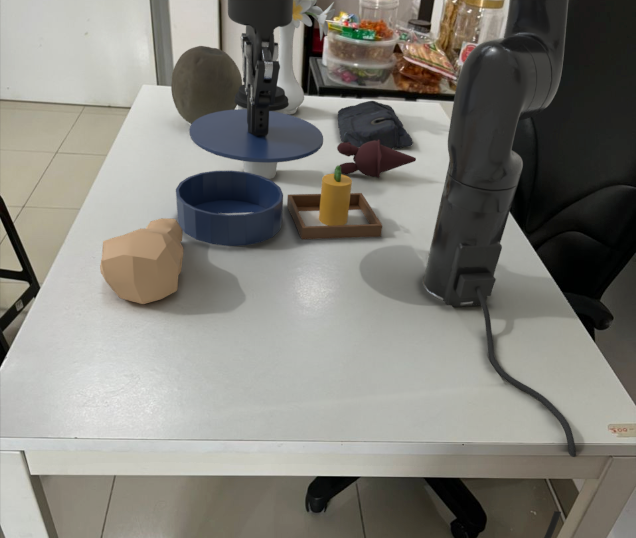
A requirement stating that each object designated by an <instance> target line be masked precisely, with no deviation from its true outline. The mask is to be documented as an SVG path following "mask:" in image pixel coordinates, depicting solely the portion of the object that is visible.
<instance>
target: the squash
mask: <svg viewBox="0 0 636 538" xmlns="http://www.w3.org/2000/svg"><path fill="white" fill-rule="evenodd" d="M183 233H184V232H183V230H182V228H181V227H180V225H179V224H178V219H175V218H166V217H165V218H158V219H154V220H151V221H149V223H148V224H147V226H146V227H145V228H138V229H136V230H132V231H130V232H127V233H125V234H122V235H118V236H114V237H111V238H108V239H105V240H103V241H102V253H101V259H100V264H99V270H100V274H101V275H102V277H103V279H104V281H105V282H106V284H107V285H108V286H109V288H111V290H112V291H113V292H114V293H115V294H116V296H117V297H118V298H119V299H122V300H126V301H130V302H133V303H137V304H140V305H145V304H148V303H152V302H157V301H159V300H163V299H164V298H166V297H168V296H170V295H172V294H174V293H175V292H177V291H178V288H179V287H178V285H179V275H180V274H181V273H182V267H183V259H184V249H185V248H184V247H183V245H182V242H183Z"/></svg>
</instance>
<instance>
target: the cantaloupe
mask: <svg viewBox="0 0 636 538" xmlns="http://www.w3.org/2000/svg"><path fill="white" fill-rule="evenodd" d="M242 85H243V77H242V73H241V72H240V69H239V66H238V64H236V62H235V61H234V60H233V58H232V57H231V56H230V55H229V54H228V53H226V52H225V51H223V49H220V48H216V47H210V46H206V45H199V46H194V47H190V48H189V49H187V50H186V51H184V52H183V53H182V54H181V55H180V56H179V58H178V60H177V61H176V63H175V65H174V67H173V70H172V73H171V87H170V88H171V89H170V90H171V97H172V100H173V101H172V102H173V103H174V107H175V109H176V110H177V112H178V114H179V116H181V118H182V119H183V120H185V122H187V123H189V124H190V125H191V124H192V123H193V122H194V121H195V120H196V119H198V118H200V117H202V116H204V115H207V114H210V113H214V112H219V111H226V110H236V108H237V107H238V105H237V104H236V103H235V102H234V99H235V95H236V93H238V91H239V87H240V86H242Z"/></svg>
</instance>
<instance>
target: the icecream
mask: <svg viewBox="0 0 636 538" xmlns="http://www.w3.org/2000/svg"><path fill="white" fill-rule="evenodd" d="M336 150H337V152H338V153H339V154H341V155H343V156H346V157H352V160H353V161H351V162H349V161H348V162H343V163H341V164H338V165H339V166H341V174H342V175H345V176H348V175H350V174H354V173H355V172H357V171H358V172H360V173H361V174H362V175H363V176H366V177H371V178H378V179H379V178H381V174H383V173H385V172H389V171H391V170H394V169H396V168H400V167H402V166H406V165H408V164H411V163H414V162H416V161H417V158H416V157H414V156H412V155H410V154H406V153H404V152H401V151H399V150H396V149H391V148H388V147H386V146H383V145H381V144H380V140H378V141H375V140H374V141H370V142H367V143H365V144H363V145H362V146H361V147H359V148H358V147H356V146H354V145H351V143H350V142H347V143H344V142H340V143H339V144H338V145H337V147H336Z"/></svg>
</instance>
